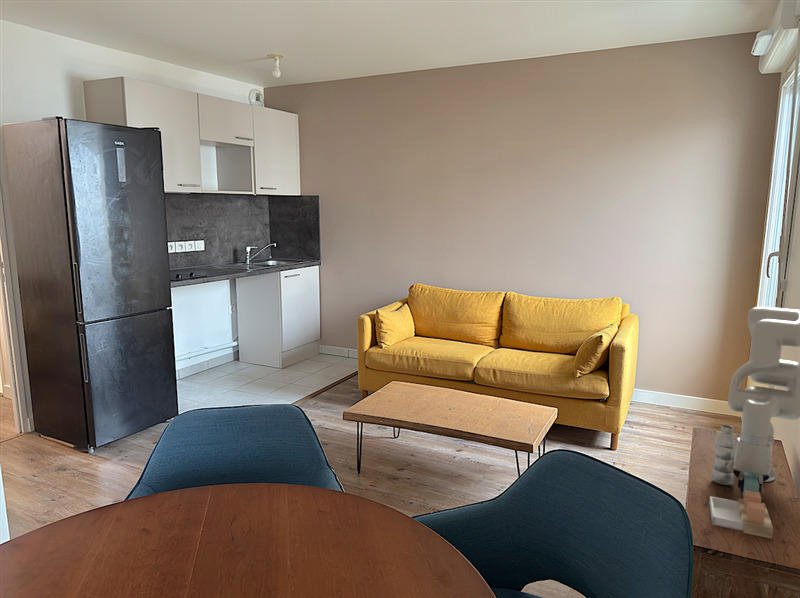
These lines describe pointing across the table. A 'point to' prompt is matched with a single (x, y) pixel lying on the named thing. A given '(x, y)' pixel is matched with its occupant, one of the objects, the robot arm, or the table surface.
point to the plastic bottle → (724, 456)
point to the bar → (750, 482)
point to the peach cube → (755, 512)
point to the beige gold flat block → (755, 523)
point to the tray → (725, 513)
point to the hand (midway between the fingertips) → (748, 490)
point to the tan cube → (751, 497)
